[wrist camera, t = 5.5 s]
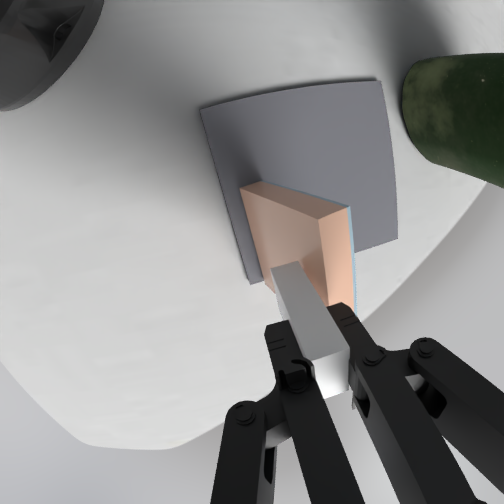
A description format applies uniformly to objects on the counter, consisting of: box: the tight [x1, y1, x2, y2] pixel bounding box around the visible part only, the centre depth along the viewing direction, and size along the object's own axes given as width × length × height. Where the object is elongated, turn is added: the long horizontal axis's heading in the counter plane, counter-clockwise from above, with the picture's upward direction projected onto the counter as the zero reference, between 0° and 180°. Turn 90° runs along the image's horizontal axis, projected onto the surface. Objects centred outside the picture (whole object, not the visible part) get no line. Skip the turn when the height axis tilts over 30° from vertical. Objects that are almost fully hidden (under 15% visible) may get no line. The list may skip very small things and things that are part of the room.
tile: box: [240, 180, 357, 316], centre depth 17 cm, size 8×2×9 cm, turn 14°
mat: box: [200, 81, 398, 285], centre depth 20 cm, size 14×14×1 cm
